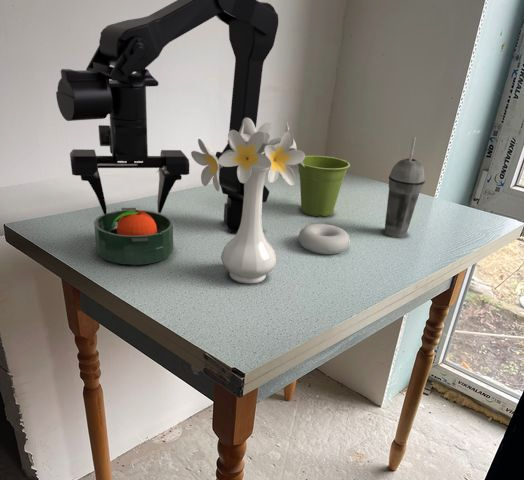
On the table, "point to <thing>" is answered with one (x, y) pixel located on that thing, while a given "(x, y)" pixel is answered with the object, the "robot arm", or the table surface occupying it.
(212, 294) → the table surface
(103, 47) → the robot arm
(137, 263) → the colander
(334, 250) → the donut
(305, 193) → the plant pot
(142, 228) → the clementine
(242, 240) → the flower vase
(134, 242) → the colander handles
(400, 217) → the beverage cup
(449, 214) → the table surface
